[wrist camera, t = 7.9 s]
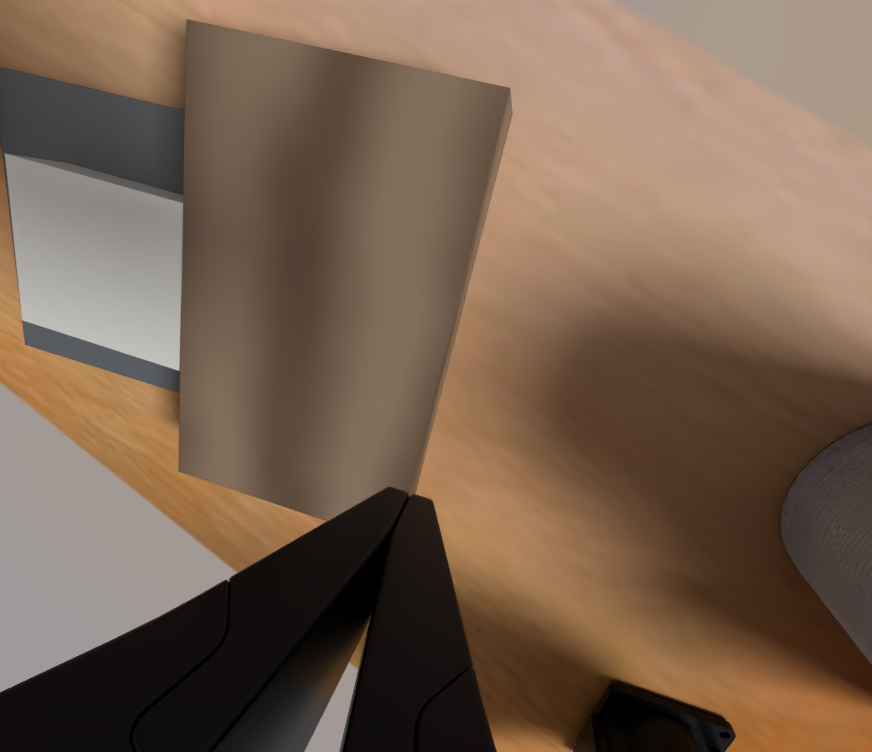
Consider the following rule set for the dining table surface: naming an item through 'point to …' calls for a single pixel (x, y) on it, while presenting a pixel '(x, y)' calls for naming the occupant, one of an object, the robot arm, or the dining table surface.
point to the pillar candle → (836, 531)
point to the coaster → (98, 257)
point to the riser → (323, 262)
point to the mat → (100, 151)
